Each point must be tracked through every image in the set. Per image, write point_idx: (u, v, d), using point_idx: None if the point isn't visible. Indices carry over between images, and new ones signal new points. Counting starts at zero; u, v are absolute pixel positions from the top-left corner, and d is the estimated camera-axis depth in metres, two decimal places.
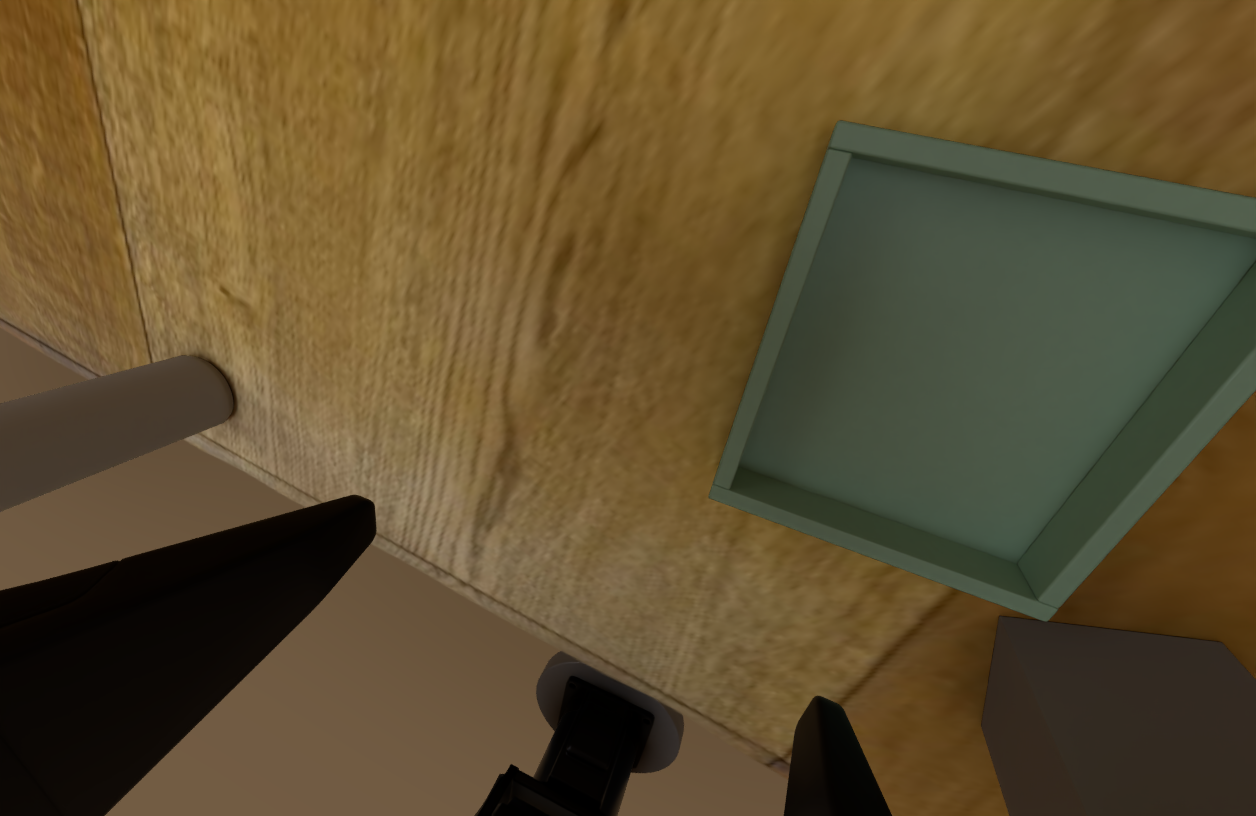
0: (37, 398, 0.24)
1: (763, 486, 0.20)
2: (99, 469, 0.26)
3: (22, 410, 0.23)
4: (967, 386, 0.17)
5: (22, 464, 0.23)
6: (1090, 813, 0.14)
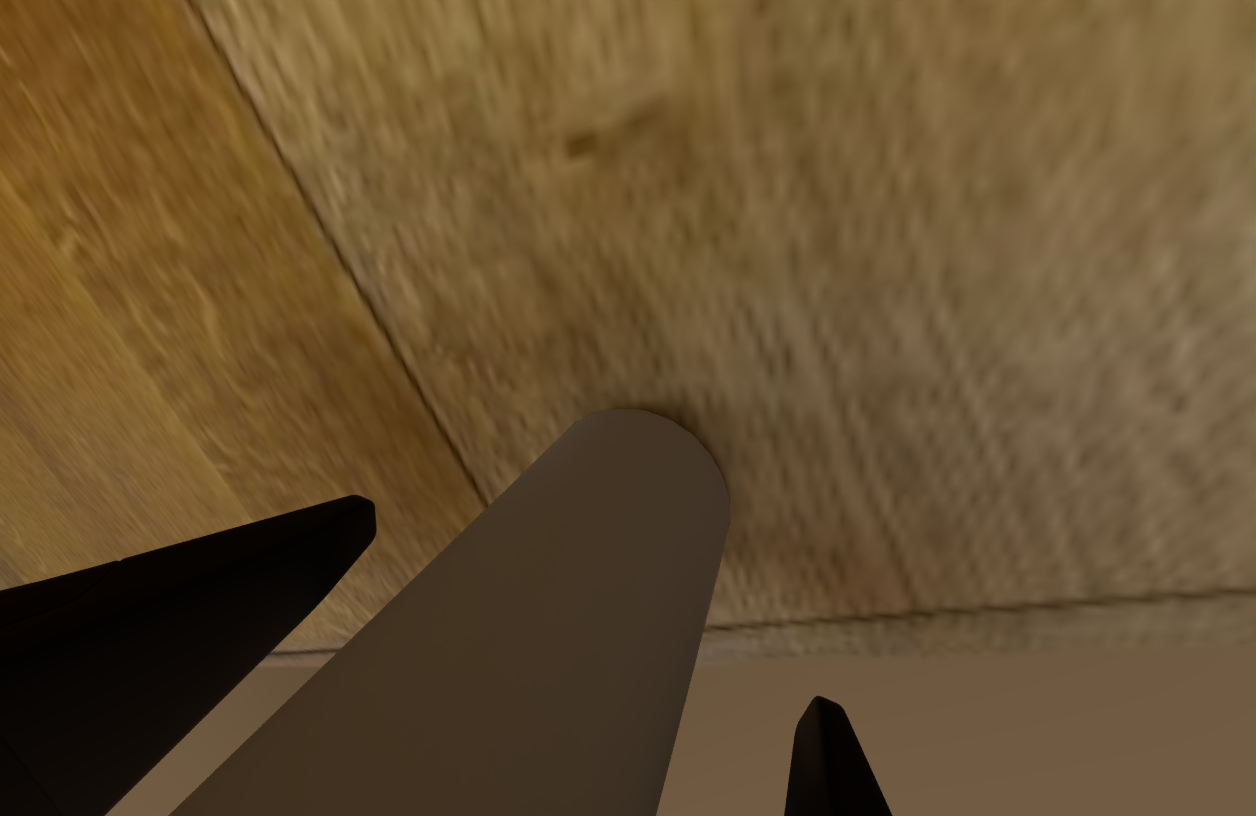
0: (335, 661, 0.06)
1: None
2: None
3: (296, 732, 0.05)
4: None
5: None
6: None
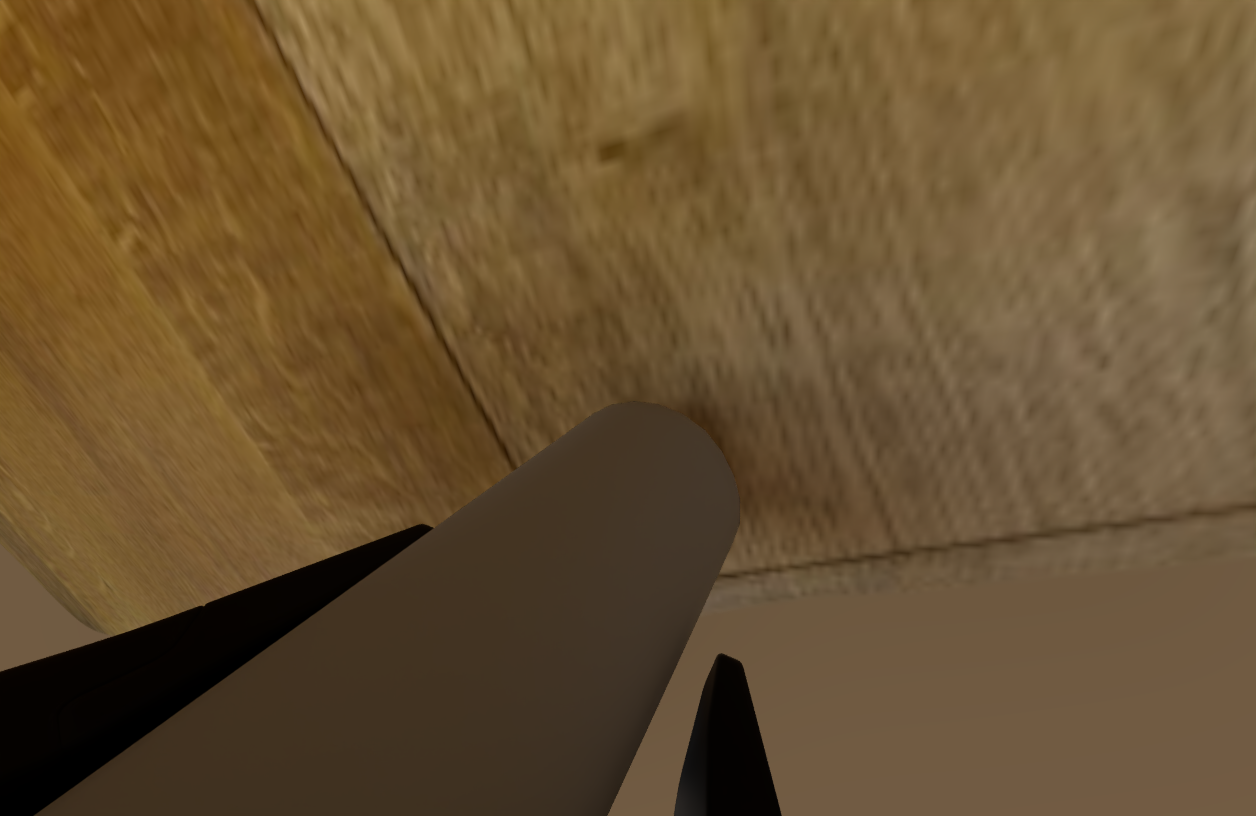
0: (336, 601, 0.06)
1: None
2: (603, 815, 0.06)
3: (290, 653, 0.05)
4: None
5: None
6: None
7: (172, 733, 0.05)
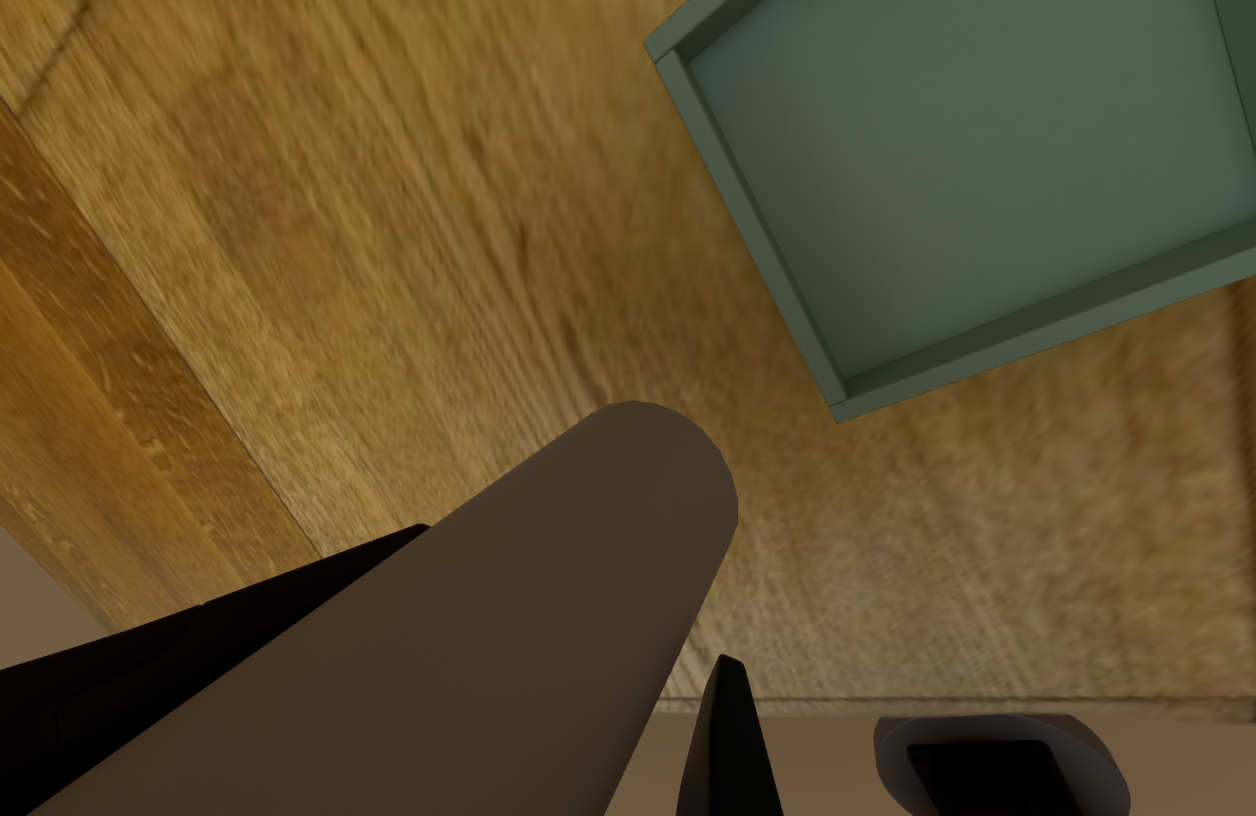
0: (331, 601, 0.06)
1: (883, 373, 0.16)
2: None
3: (283, 654, 0.05)
4: (982, 107, 0.14)
5: None
6: None
7: (163, 734, 0.04)
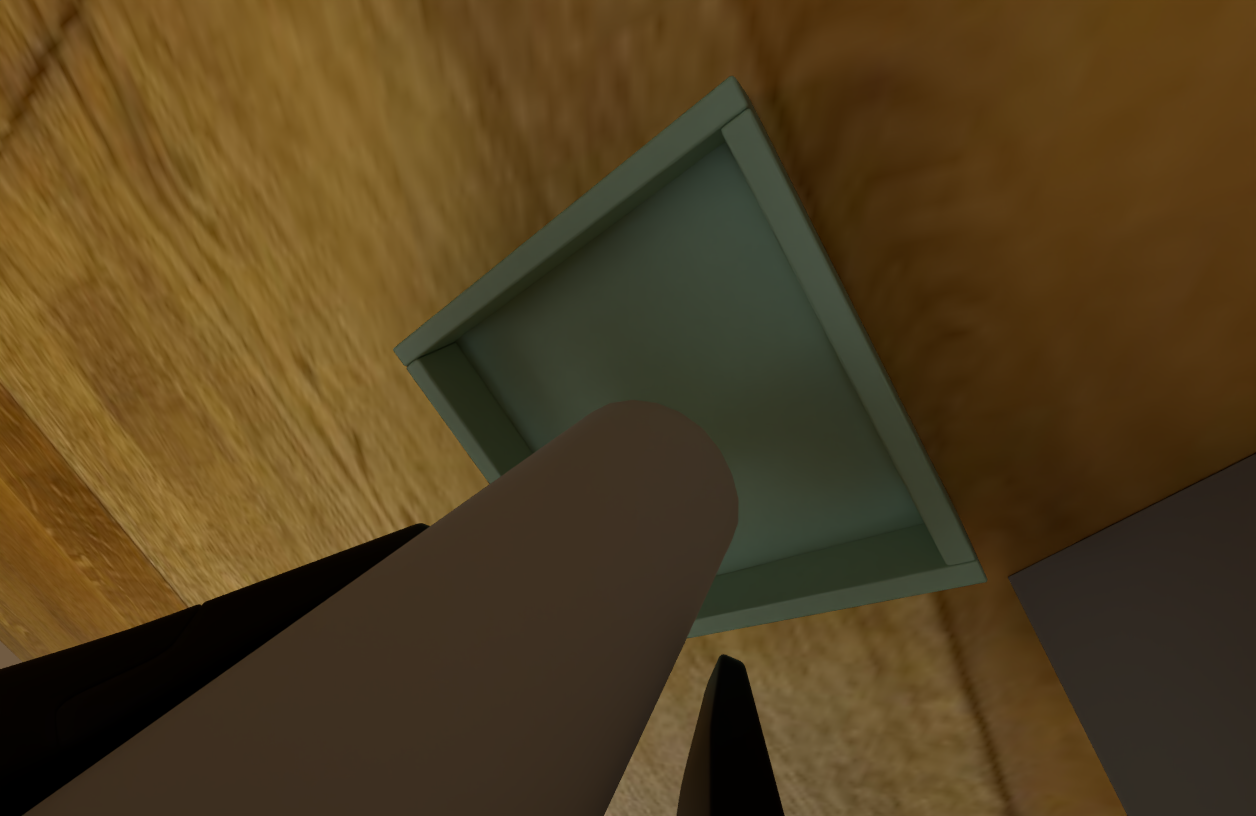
0: (329, 601, 0.06)
1: None
2: None
3: (281, 653, 0.05)
4: (692, 410, 0.15)
5: None
6: None
7: (160, 734, 0.04)
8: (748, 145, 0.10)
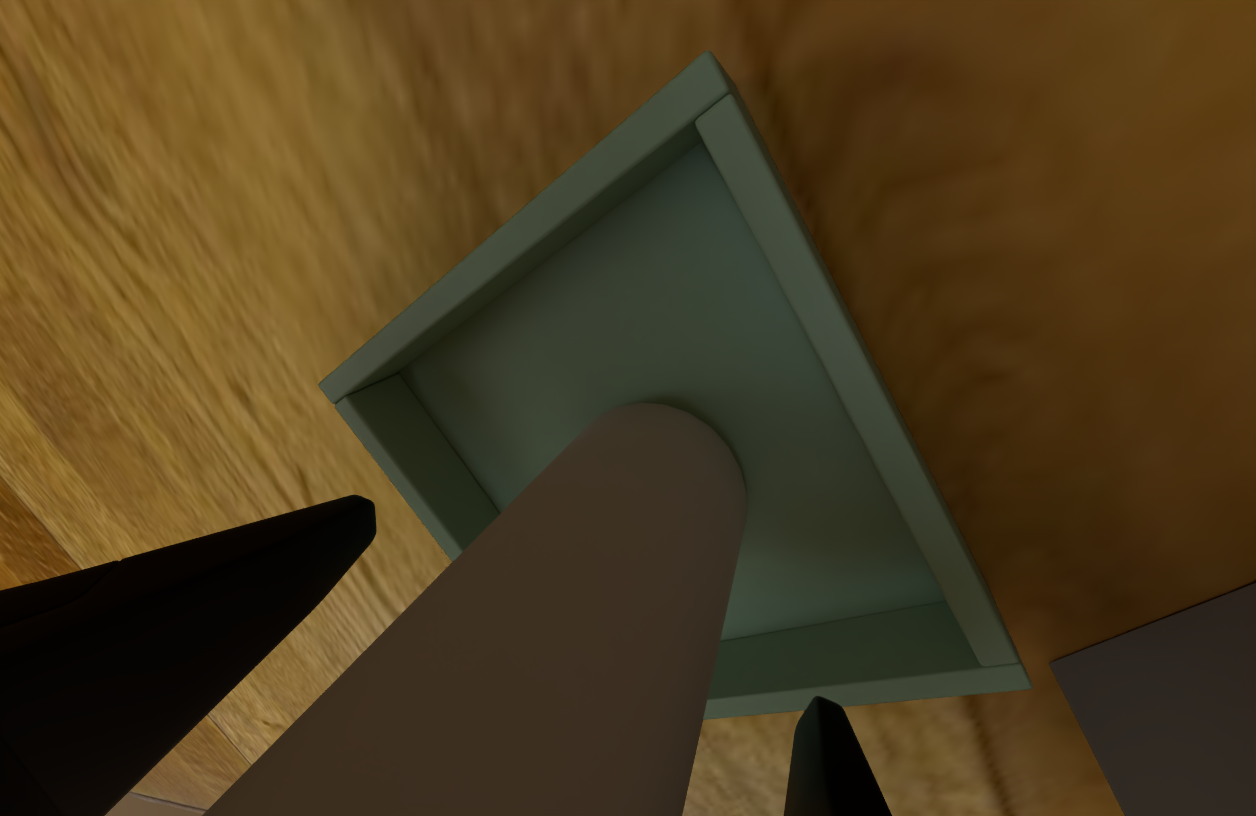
0: (391, 632, 0.06)
1: None
2: (681, 811, 0.06)
3: (366, 691, 0.05)
4: None
5: None
6: None
7: (265, 790, 0.04)
8: (730, 142, 0.08)
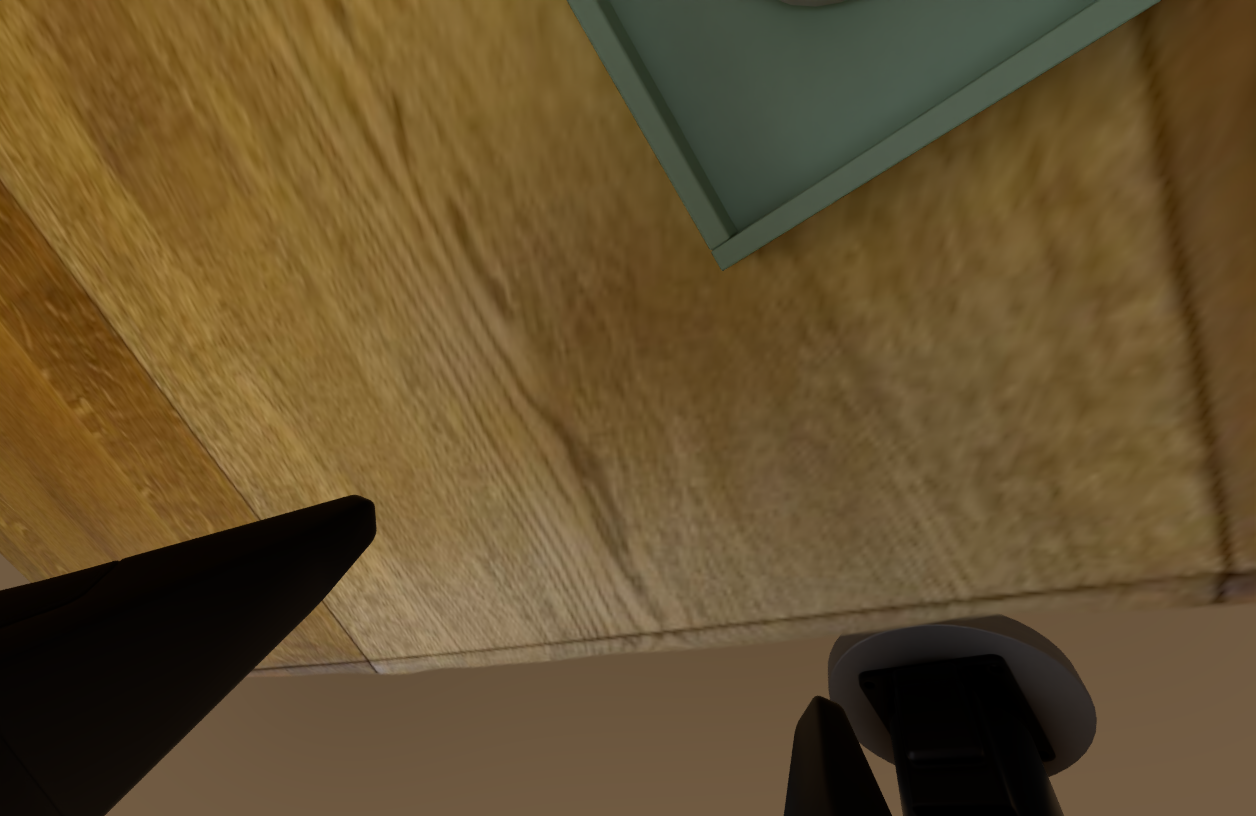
0: None
1: None
2: None
3: None
4: None
5: None
6: None
7: None
8: None
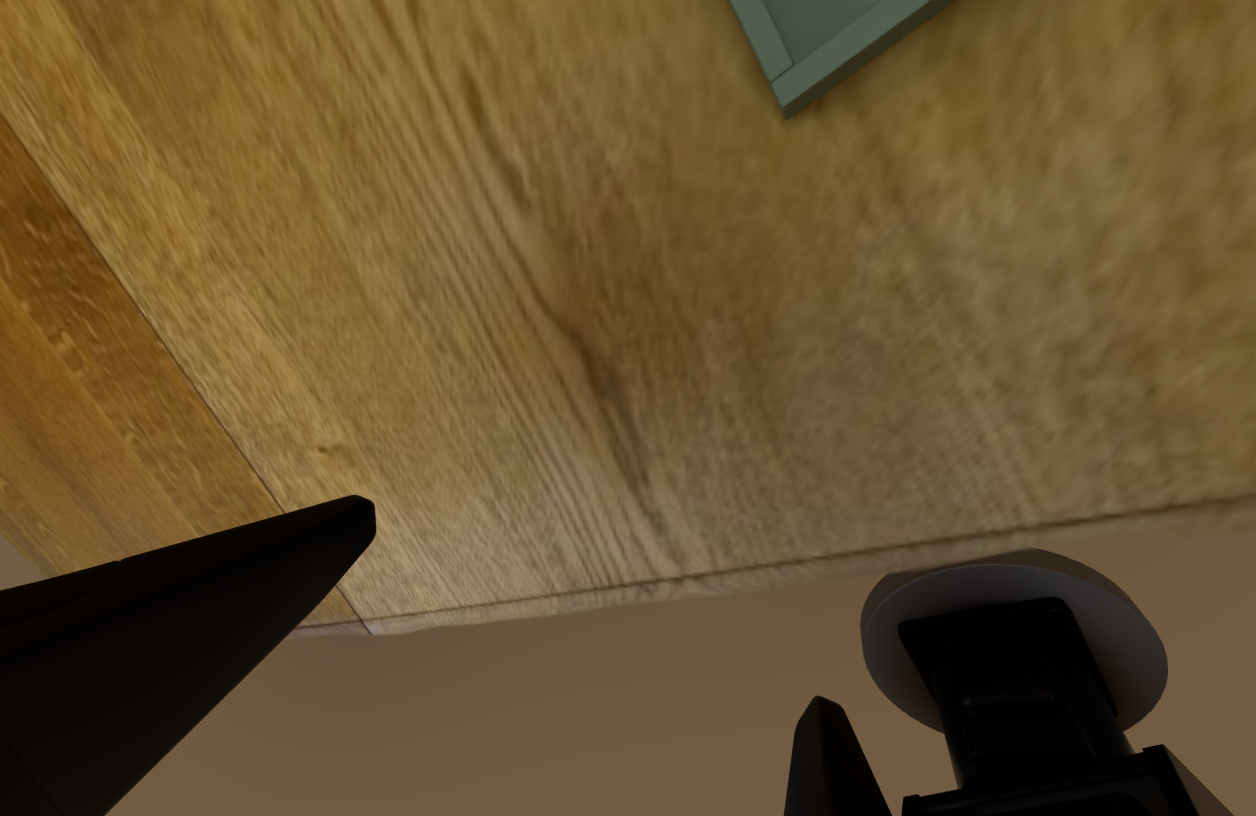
0: None
1: None
2: None
3: None
4: None
5: None
6: None
7: None
8: None
